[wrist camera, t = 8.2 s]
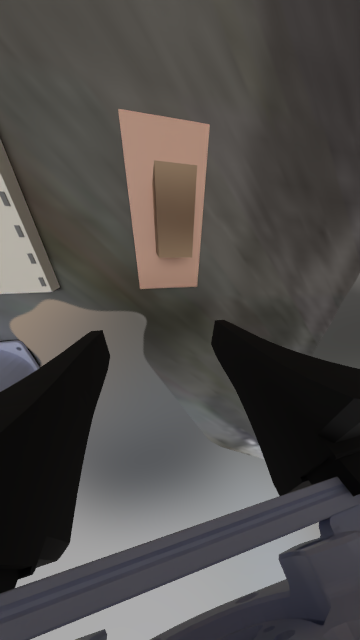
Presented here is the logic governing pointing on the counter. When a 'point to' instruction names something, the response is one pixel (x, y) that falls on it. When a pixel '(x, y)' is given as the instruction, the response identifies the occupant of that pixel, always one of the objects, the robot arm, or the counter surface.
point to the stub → (165, 195)
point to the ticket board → (20, 240)
